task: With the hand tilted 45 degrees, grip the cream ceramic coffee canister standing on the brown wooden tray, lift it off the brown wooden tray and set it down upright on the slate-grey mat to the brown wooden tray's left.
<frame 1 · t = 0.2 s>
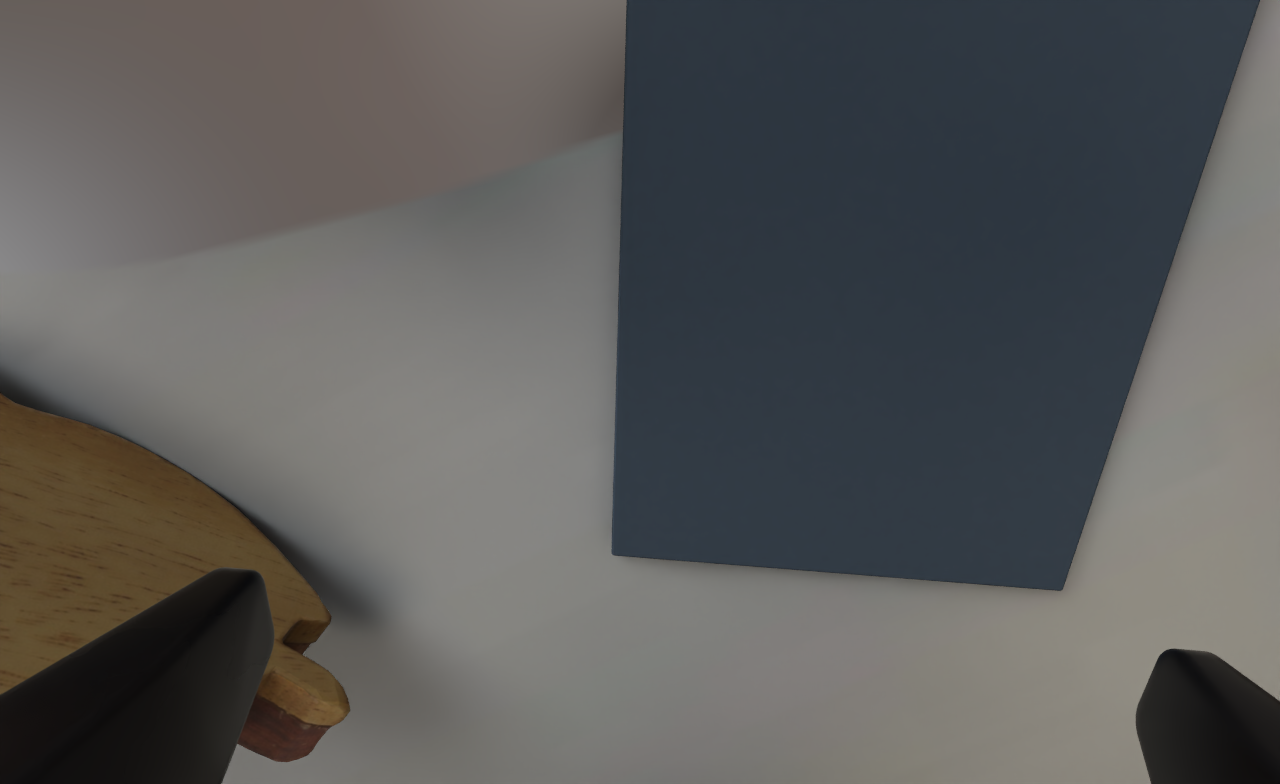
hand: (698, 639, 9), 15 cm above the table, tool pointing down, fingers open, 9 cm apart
mat: (888, 235, 22), on the table
wooden carving: (156, 477, 27), on the table
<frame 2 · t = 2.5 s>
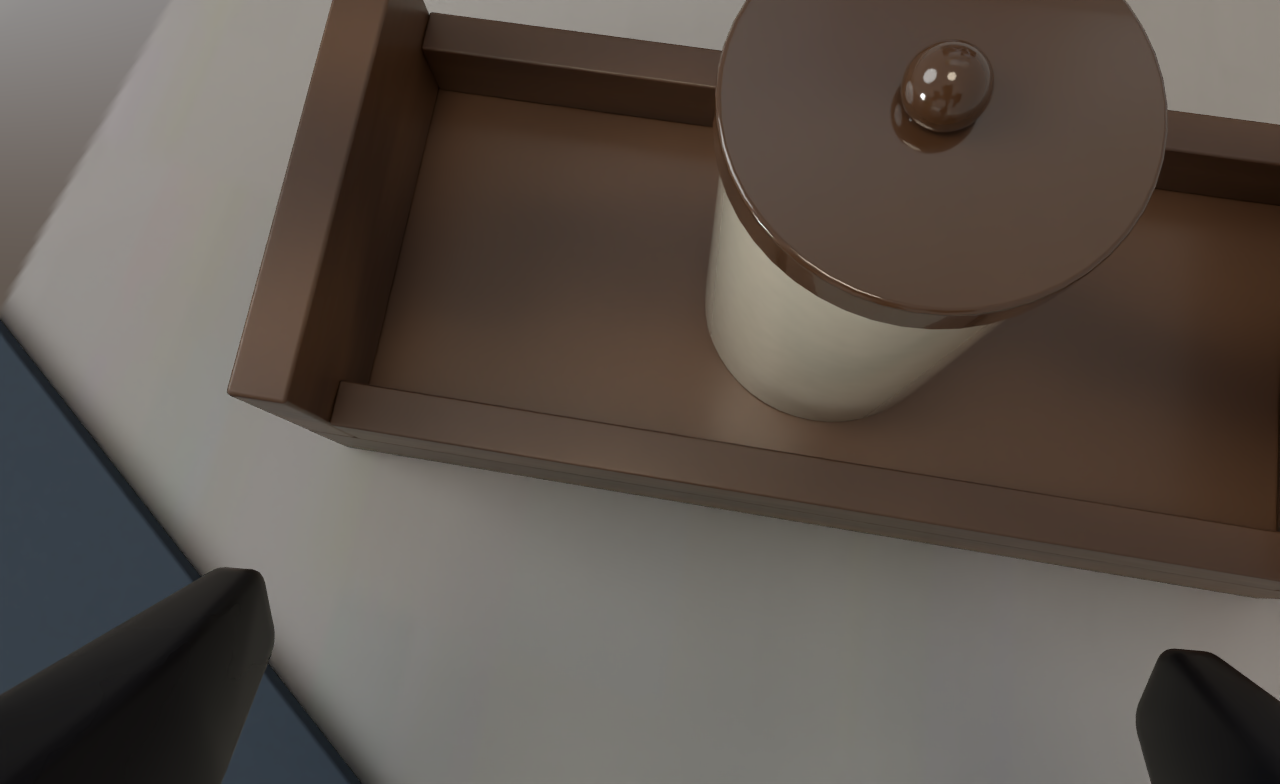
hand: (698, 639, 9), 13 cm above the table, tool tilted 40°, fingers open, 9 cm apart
brown wooden tray: (811, 330, 24), on the table
canister: (827, 301, 21), point 2 cm above the table, touching brown wooden tray
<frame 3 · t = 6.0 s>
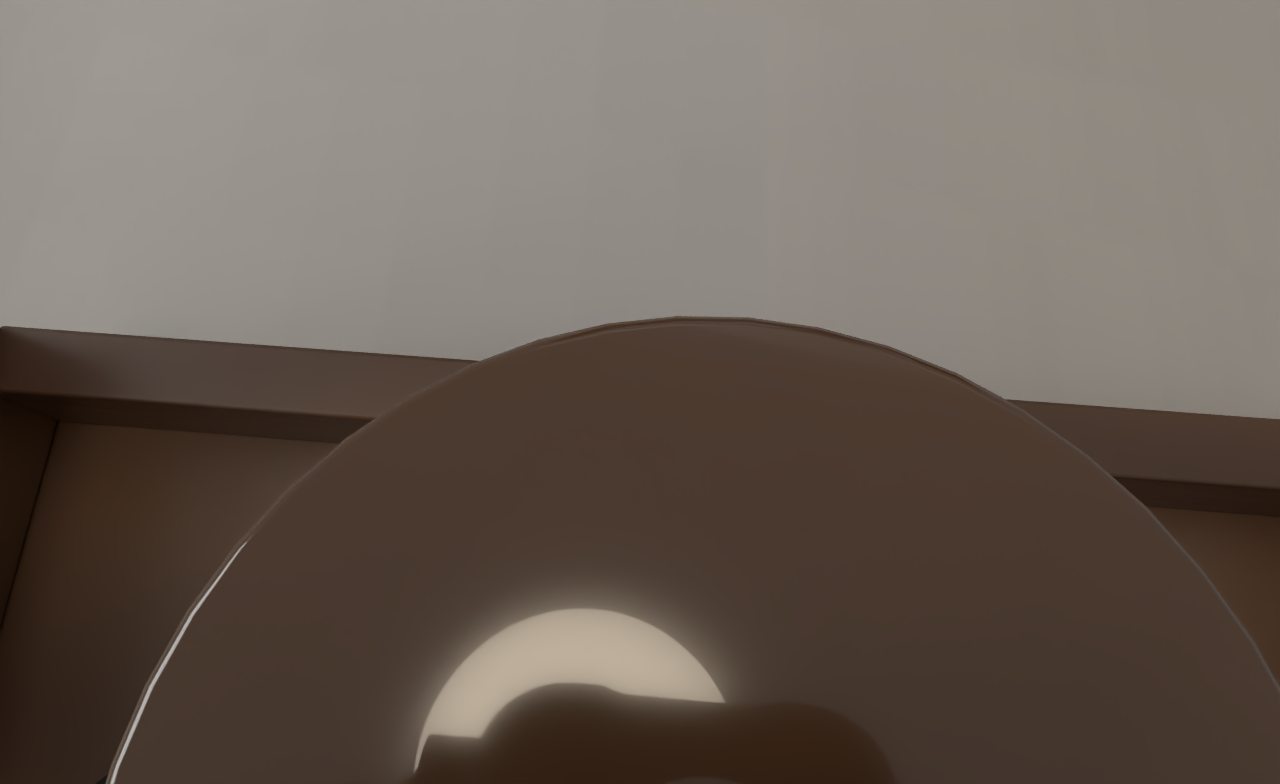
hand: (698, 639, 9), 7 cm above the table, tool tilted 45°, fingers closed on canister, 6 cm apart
brown wooden tray: (677, 732, 15), on the table
canister: (678, 746, 13), point 3 cm above the table, touching gripper, brown wooden tray
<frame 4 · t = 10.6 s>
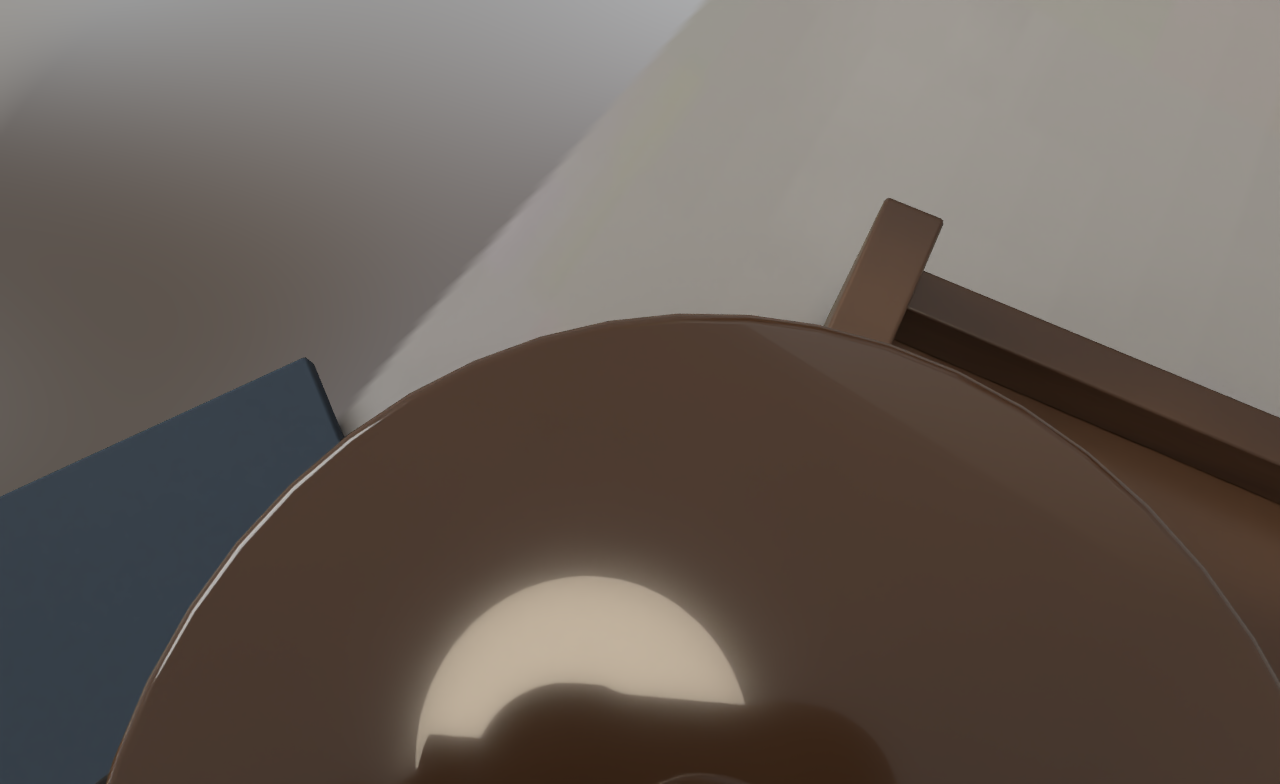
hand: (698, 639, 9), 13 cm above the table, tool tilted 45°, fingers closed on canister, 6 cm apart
brown wooden tray: (1208, 696, 21), on the table
canister: (679, 744, 13), point 8 cm above the table, touching gripper
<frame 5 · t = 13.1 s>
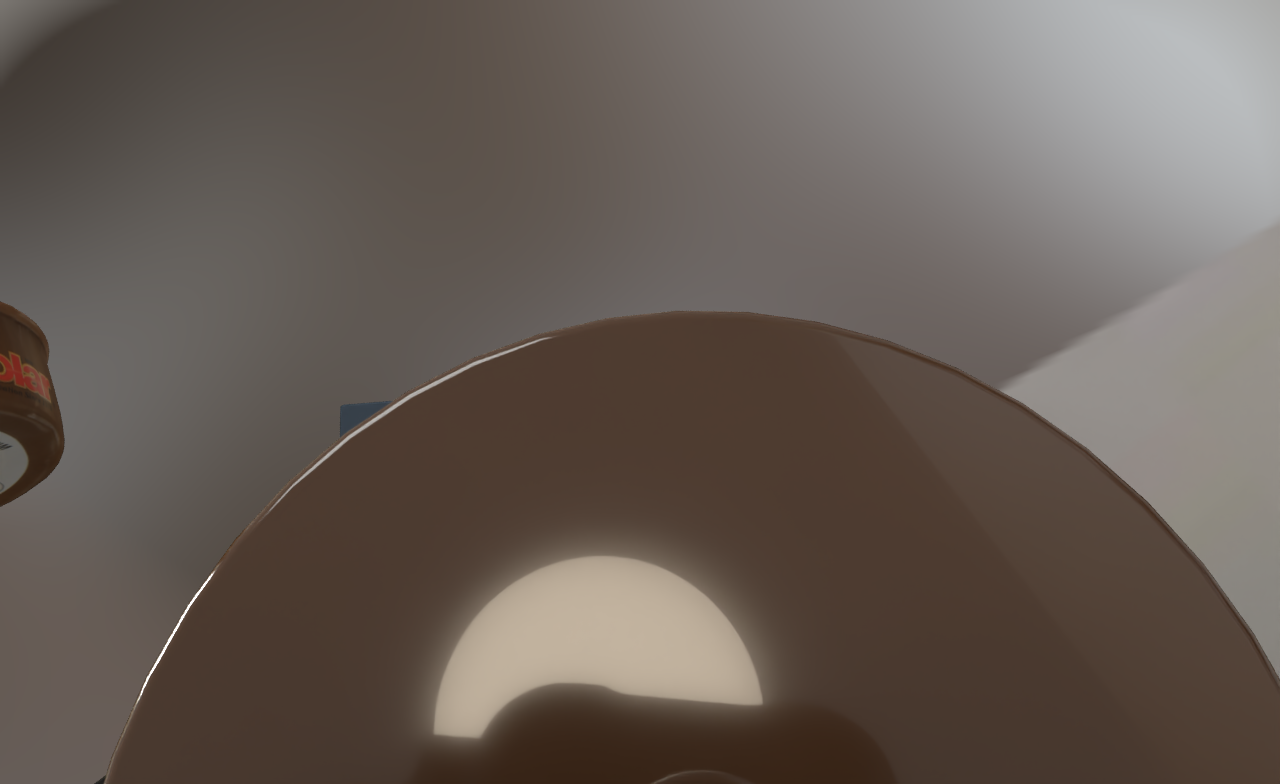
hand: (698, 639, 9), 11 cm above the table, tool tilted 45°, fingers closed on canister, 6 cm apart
canister: (678, 743, 13), point 6 cm above the table, touching gripper
when the fingers open (5 cm above the table, at t = 15.2 s): canister stays where it is, resting on mat.
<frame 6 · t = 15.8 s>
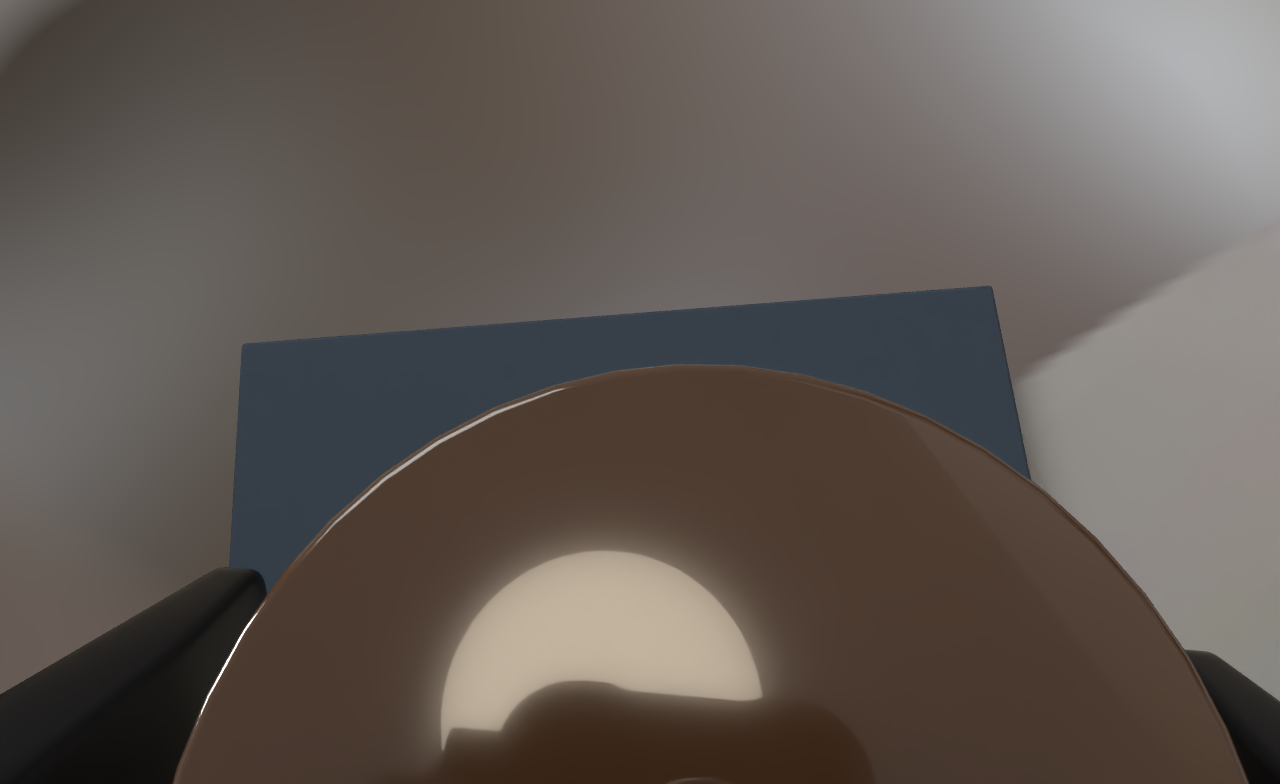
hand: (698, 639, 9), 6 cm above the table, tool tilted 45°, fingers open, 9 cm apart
canister: (679, 747, 13), point 1 cm above the table, touching mat
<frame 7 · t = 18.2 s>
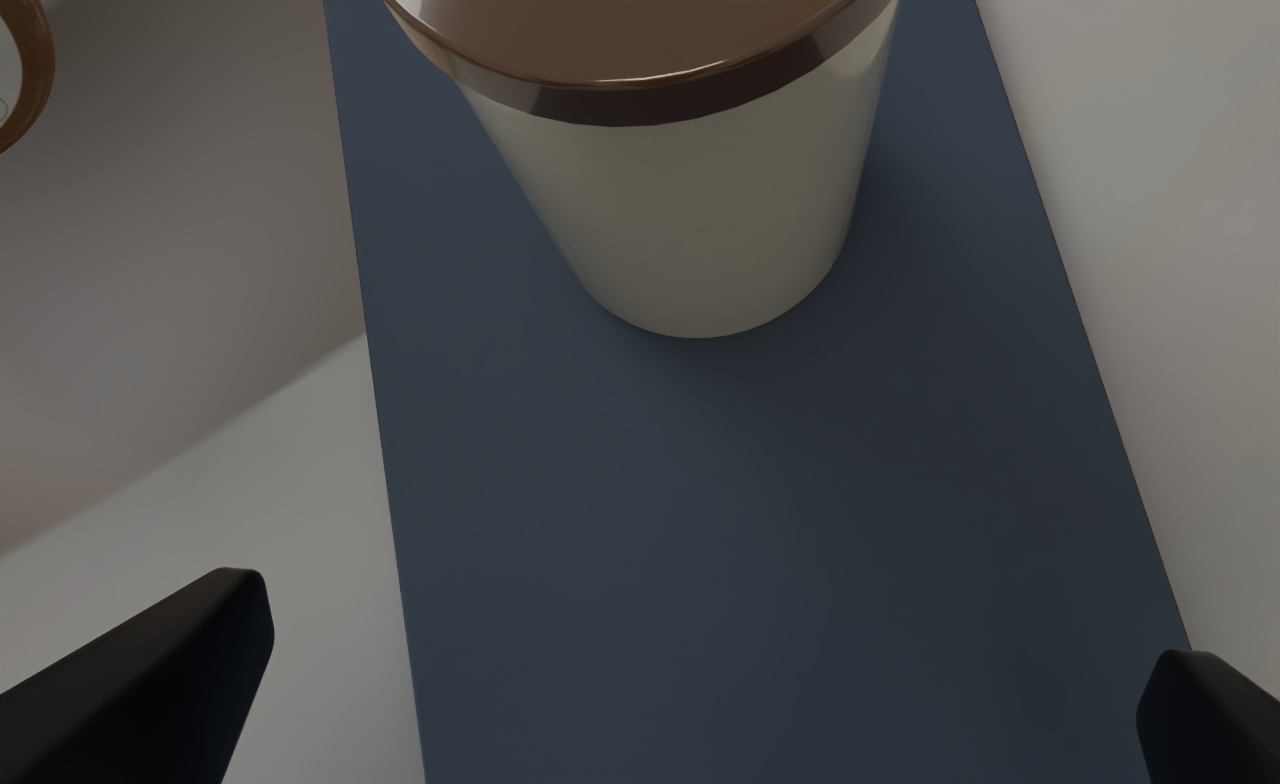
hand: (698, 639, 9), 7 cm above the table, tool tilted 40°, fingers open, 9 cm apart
canister: (700, 194, 17), point 1 cm above the table, touching mat
mat: (710, 352, 17), on the table
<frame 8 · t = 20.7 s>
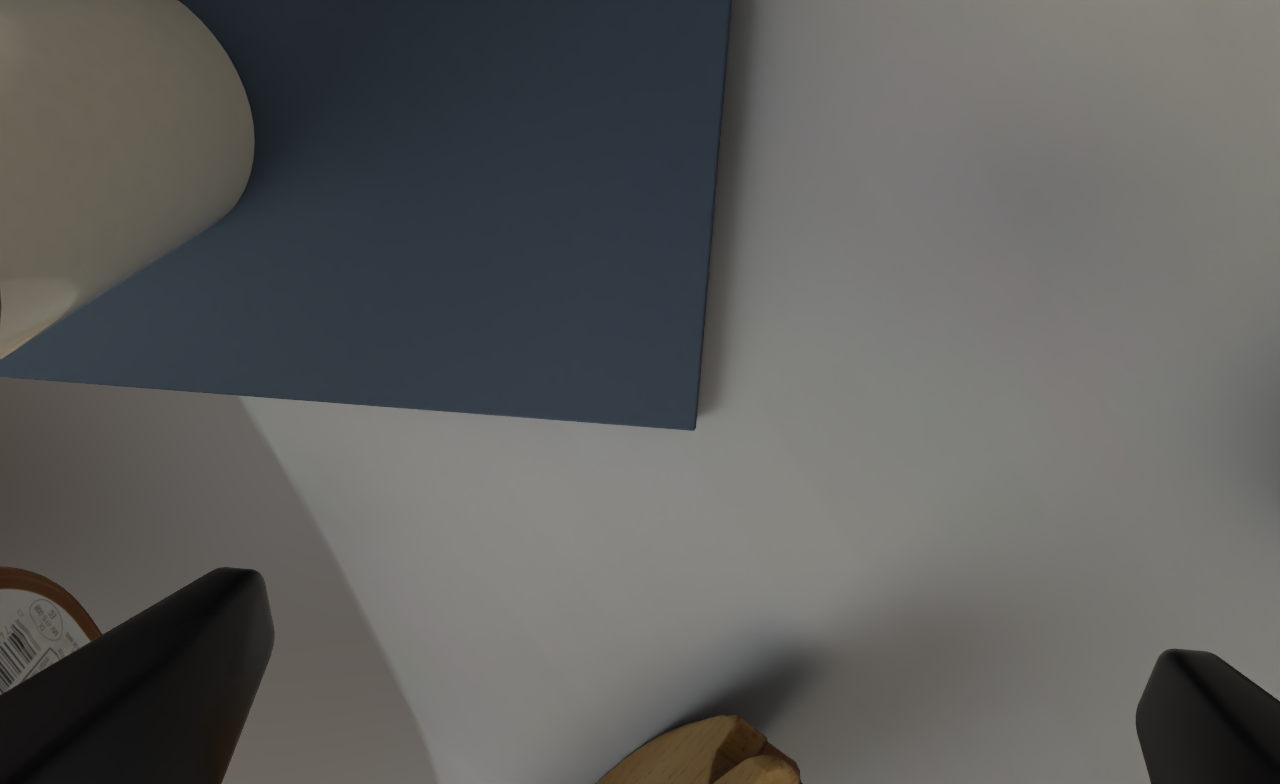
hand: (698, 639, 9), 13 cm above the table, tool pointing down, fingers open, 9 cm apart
canister: (124, 111, 20), point 1 cm above the table, touching mat
mat: (272, 136, 20), on the table
tin: (124, 688, 30), on the table
wooden carving: (635, 779, 30), on the table
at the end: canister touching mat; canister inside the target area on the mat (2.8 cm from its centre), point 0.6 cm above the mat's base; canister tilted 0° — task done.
